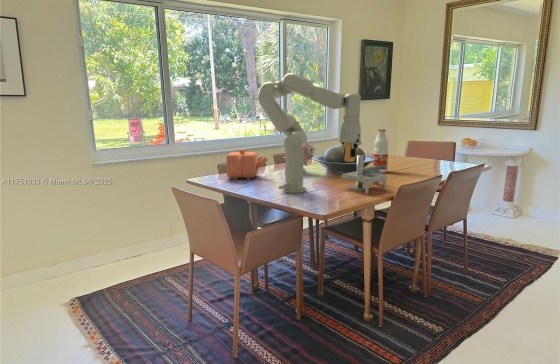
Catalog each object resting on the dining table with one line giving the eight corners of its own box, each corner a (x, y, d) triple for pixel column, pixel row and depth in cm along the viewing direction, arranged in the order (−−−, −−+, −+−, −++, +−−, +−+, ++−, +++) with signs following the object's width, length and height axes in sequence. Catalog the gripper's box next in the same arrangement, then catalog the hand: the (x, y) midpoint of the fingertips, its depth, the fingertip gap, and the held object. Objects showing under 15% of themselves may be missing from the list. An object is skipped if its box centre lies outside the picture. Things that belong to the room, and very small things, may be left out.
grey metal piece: (367, 194, 192) (368, 159, 188) (341, 188, 205) (342, 156, 201) (385, 189, 202) (387, 156, 198) (360, 183, 215) (361, 153, 211)
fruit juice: (387, 170, 252) (389, 128, 246) (386, 173, 243) (388, 130, 237) (373, 169, 255) (375, 128, 249) (371, 172, 247) (373, 129, 240)
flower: (271, 170, 251) (279, 139, 237) (293, 162, 265) (302, 132, 251) (291, 186, 241) (301, 155, 227) (313, 177, 255) (324, 147, 241)
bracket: (363, 187, 206) (364, 169, 204) (359, 187, 208) (360, 168, 206) (378, 183, 215) (379, 166, 212) (375, 183, 217) (376, 165, 214)
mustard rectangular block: (349, 162, 187) (351, 138, 185) (344, 161, 190) (345, 137, 187) (354, 161, 190) (355, 137, 187) (348, 160, 192) (350, 136, 189)
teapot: (270, 173, 247) (269, 147, 243) (265, 181, 225) (265, 152, 221) (233, 173, 249) (232, 147, 245) (225, 181, 227) (223, 152, 223)
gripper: (334, 118, 189) (332, 154, 193) (360, 120, 176) (357, 159, 181) (343, 118, 194) (342, 153, 198) (369, 120, 181) (367, 157, 185)
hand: (349, 155), depth 189 cm, fingers closed on mustard rectangular block, 3 cm apart
